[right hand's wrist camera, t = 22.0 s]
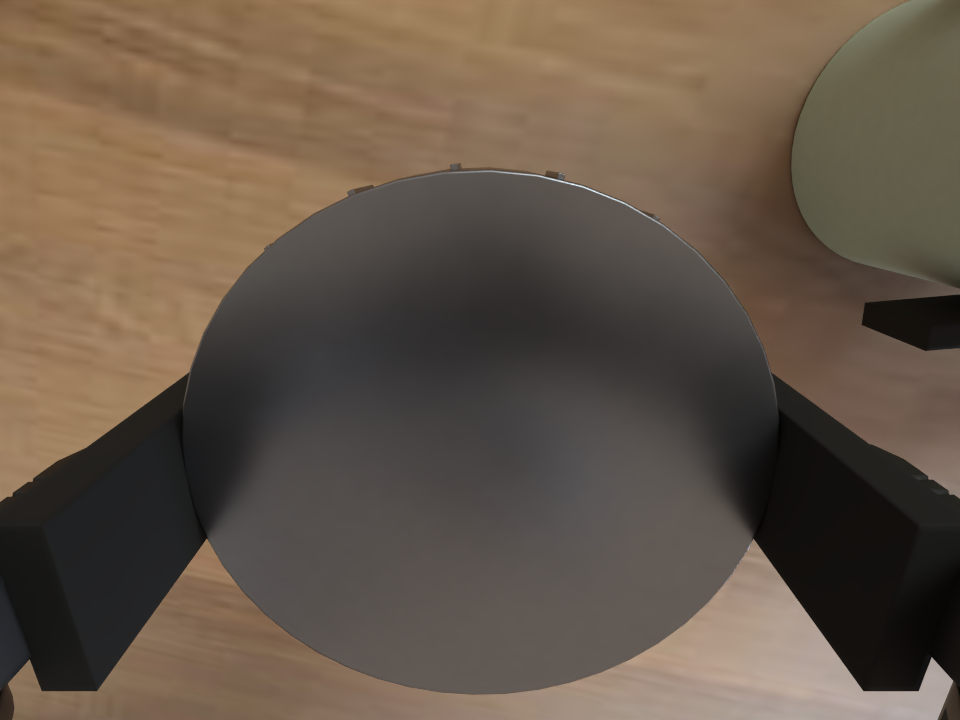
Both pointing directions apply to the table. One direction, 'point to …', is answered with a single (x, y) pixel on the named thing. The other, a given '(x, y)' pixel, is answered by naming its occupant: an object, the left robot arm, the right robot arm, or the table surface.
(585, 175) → the table surface
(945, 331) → the left robot arm
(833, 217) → the jar
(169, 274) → the table surface
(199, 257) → the table surface
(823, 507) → the right robot arm
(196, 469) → the lid
